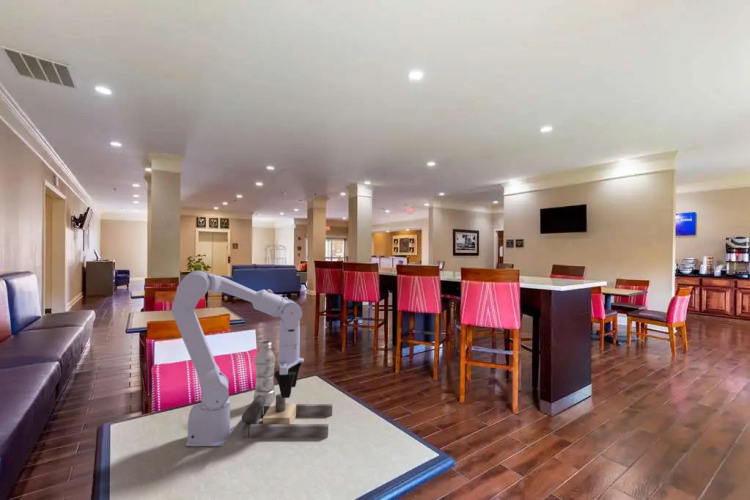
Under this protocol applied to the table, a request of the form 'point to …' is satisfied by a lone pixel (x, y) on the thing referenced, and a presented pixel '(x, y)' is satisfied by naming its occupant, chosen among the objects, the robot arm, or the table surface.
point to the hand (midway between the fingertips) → (288, 391)
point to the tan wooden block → (280, 412)
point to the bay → (284, 430)
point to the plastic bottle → (265, 372)
